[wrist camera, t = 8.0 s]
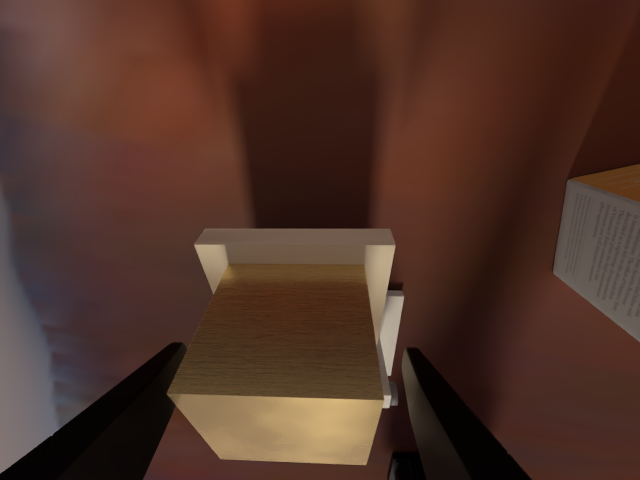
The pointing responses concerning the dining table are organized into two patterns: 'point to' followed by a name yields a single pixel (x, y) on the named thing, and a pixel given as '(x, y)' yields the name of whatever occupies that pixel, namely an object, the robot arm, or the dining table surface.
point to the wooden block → (285, 366)
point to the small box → (603, 243)
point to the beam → (303, 254)
